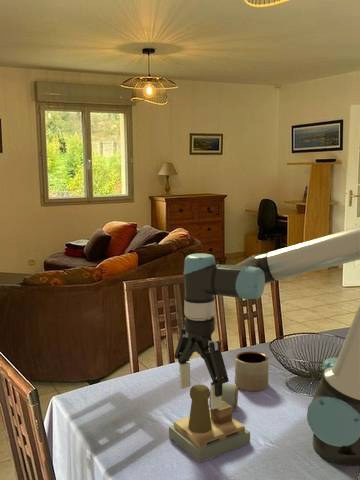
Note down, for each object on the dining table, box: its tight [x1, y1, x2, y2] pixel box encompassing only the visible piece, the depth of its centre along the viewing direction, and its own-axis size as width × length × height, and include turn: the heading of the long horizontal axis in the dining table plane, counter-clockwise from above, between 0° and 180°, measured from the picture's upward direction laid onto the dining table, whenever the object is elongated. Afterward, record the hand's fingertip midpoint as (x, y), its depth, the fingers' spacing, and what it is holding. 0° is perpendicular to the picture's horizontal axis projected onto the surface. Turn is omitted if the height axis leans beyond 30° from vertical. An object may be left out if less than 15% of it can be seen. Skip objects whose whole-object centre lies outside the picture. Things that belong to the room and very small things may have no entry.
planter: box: [234, 350, 270, 393], centre depth 163 cm, size 11×11×10 cm
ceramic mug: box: [208, 380, 239, 411], centre depth 150 cm, size 11×8×8 cm
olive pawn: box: [188, 384, 212, 433], centre depth 129 cm, size 6×6×11 cm
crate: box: [210, 401, 233, 425], centre depth 133 cm, size 4×4×4 cm
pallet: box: [173, 409, 246, 448], centre depth 131 cm, size 12×14×2 cm
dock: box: [168, 424, 251, 464], centre depth 132 cm, size 14×16×3 cm
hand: (200, 396), depth 128 cm, fingers open, 13 cm apart
